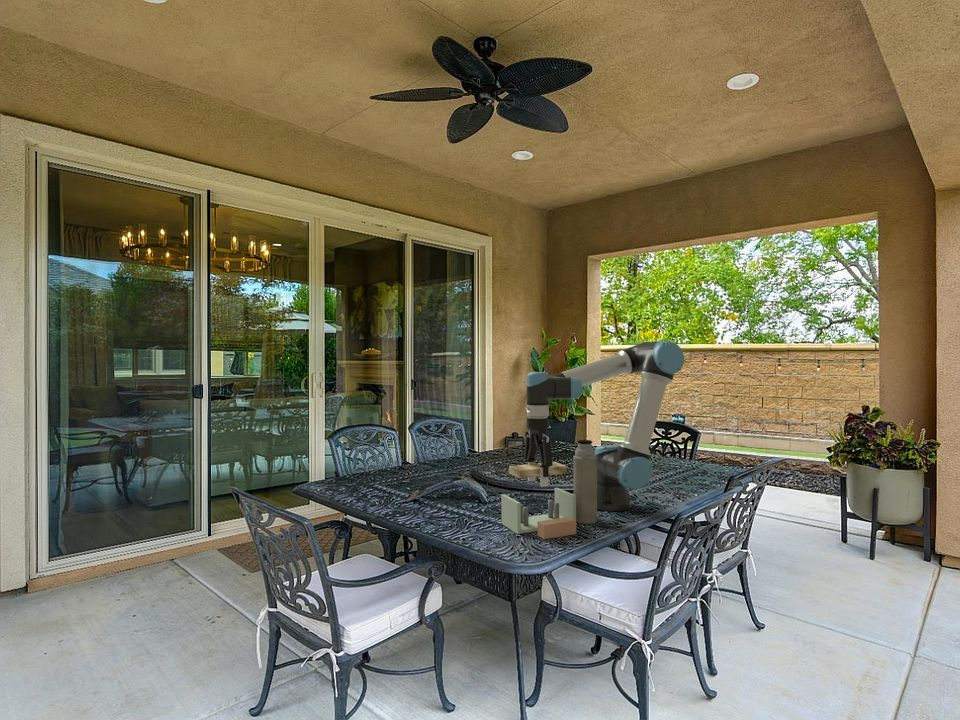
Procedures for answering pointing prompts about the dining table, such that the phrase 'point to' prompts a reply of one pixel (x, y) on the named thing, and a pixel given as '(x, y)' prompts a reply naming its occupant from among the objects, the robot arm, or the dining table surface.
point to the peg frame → (521, 523)
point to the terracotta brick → (556, 527)
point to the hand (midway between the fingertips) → (537, 483)
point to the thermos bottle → (585, 482)
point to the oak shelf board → (535, 470)
